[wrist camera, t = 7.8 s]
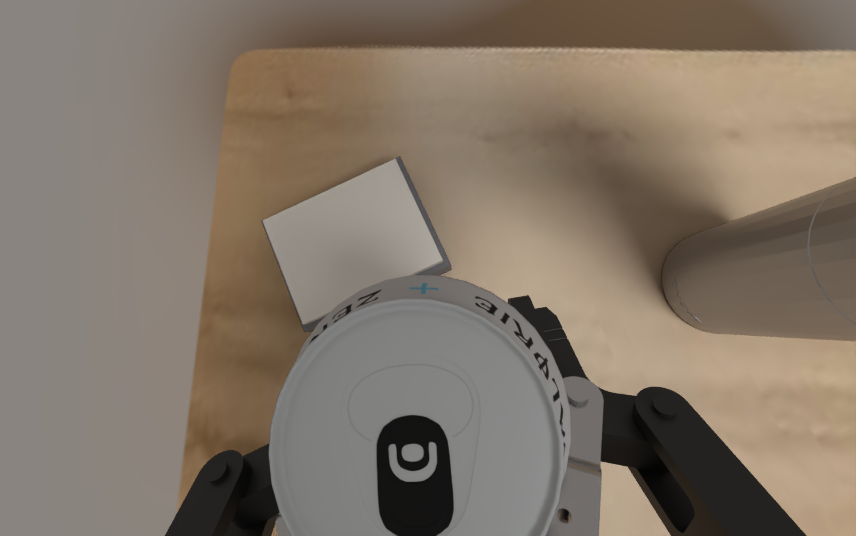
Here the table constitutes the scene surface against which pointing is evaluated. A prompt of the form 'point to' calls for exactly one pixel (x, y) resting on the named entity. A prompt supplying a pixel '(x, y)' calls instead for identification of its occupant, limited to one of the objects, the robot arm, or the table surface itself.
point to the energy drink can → (421, 418)
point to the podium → (353, 240)
